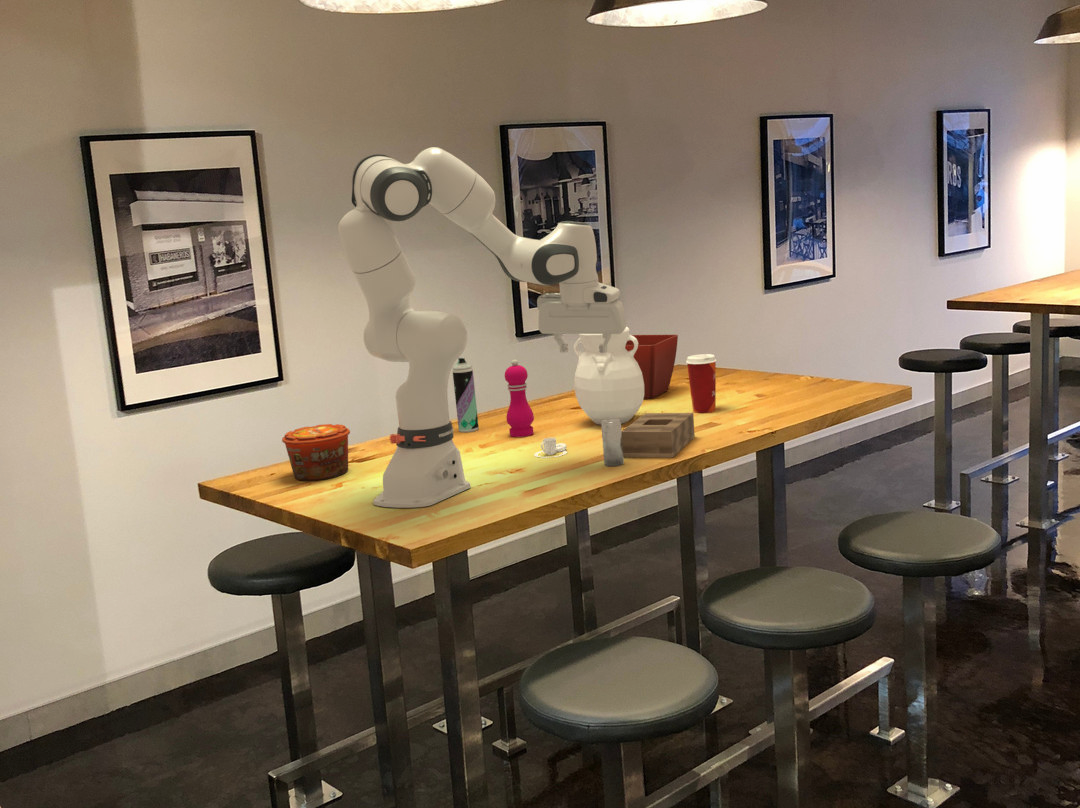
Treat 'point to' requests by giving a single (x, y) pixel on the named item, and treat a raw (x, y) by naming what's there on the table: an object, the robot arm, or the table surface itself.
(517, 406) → the pepper mill
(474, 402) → the spray can
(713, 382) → the coffee cup
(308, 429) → the food container
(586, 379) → the pitcher
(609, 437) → the pin
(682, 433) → the socket block
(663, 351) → the plant pot
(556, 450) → the teacup and saucer
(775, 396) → the table surface
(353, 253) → the robot arm
